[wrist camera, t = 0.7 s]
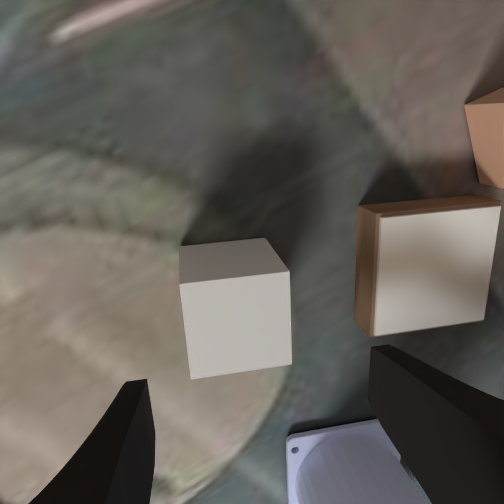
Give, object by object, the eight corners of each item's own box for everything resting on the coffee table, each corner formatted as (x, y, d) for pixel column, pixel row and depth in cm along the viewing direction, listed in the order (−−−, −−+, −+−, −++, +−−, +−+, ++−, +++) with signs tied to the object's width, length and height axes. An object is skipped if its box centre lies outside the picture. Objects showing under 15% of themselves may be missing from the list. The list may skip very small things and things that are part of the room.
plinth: (457, 303, 25) (486, 322, 23) (352, 318, 24) (371, 339, 21) (471, 193, 23) (505, 202, 20) (356, 204, 22) (378, 214, 19)
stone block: (268, 313, 22) (291, 364, 18) (188, 323, 22) (191, 379, 17) (265, 237, 21) (289, 271, 16) (179, 246, 20) (179, 284, 16)
